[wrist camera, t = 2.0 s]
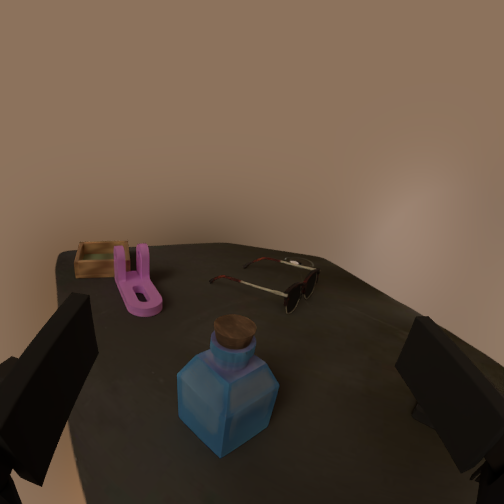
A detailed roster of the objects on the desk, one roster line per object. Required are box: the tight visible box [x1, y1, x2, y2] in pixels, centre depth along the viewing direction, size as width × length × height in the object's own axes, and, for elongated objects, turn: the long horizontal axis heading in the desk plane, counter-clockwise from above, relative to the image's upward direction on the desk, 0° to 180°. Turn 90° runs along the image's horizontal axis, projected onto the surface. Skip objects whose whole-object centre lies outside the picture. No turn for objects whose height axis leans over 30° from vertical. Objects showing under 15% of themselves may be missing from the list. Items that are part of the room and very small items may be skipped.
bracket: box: [114, 243, 162, 317], centre depth 45 cm, size 13×6×7 cm, turn 34°
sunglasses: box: [209, 257, 320, 314], centre depth 54 cm, size 14×16×5 cm
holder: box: [74, 241, 131, 278], centre depth 54 cm, size 11×11×3 cm
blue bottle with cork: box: [177, 314, 280, 459], centre depth 24 cm, size 6×6×12 cm
